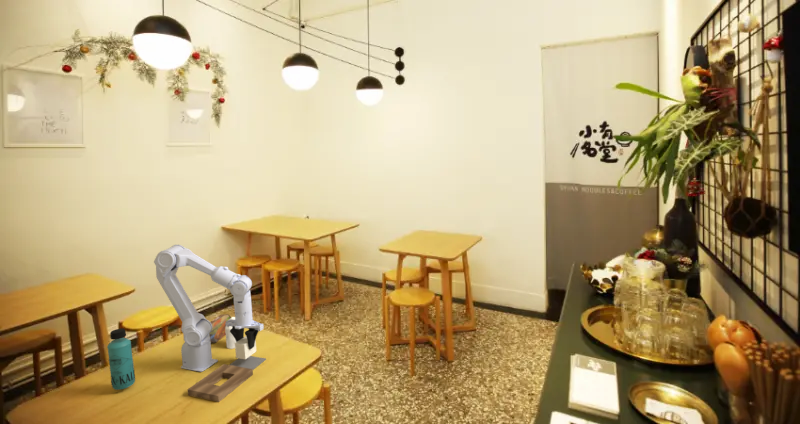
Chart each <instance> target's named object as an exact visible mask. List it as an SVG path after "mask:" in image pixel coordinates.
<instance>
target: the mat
mask: <svg viewBox="0 0 800 424" xmlns="http://www.w3.org/2000/svg"><path fill="white" fill-rule="evenodd" d="M266 360H267V358H266V357H265V358H264V357H259V356H254V355H251V356H249V357H248V358H247V359H240V358H236V359H235V360H233V361H232V362H231V363H230V364H229V365H232V366H238V367H243V368H249V369H253V370H255V369H256V368H257V367H259V366H261V364H263V363H264V362H265V361H266Z"/></svg>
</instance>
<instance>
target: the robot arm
mask: <svg viewBox="0 0 800 424" xmlns="http://www.w3.org/2000/svg"><path fill="white" fill-rule="evenodd" d="M153 264H154V265H155V275H156V277H155V278H156V280H157V281H158V283H159V285H160V286H161V287H162V290H163V291H164V293H165V295H166V297H167V298H168V300H169V302H170V303H171V305H172V307H173V308H174V310H175V312H176V313H177V315H178V317H179V319H180V320H181V322H182V323H181V330H180V331H181V332H182V334H183V341H184V343H183V344H182V347H181V349H180V350H181V352H180V353H181V360H182V365H181V366H180V368H181V369H182V370H183V369H185V370H189V371H195V372H200V373H203V372H204V371H206V370H207V369H209V368H210V367H211V366H213V365H215V364H216V363H217V362H218V361H219V359H217V358H216V359H215V358H213V353H212V342H211V341H210V336H209V333H210V332H211V330H212V324H211V321H210V320H208V319H207V318H206V317H205V316H204V314H202V313H199V312H198V310H197V309H196V307H195V306H194V304H193V302H192V301H191V299H190V297H189V295H188V293H187V291H186V290H185V288H184V286H183V285H182V283H181V282H180V279H179V278H178V277H177V273H178V270H179V268H181V267H187V266H188V267H191V268H193V269H195V270H197V271H200V272H202V273H204V274H206V275H208V276H210V279H211V280H212V281H213V282H214V283H216V284H218V285H220V286H222V287H224V288H226V289H228V290H229V292H230V294H231V295H232V296H233V309H234V317H235V320H231V319H229V320H228V321H226V326H227V327H229V326H232V329H231V330H230V333H231V334H232V335H233V336H234V338H235V340H236V342H237V341H239V340H241V339H242V338H244V337H245V336H246V337H247V340H248V347H249V349H252V348H253V347H254V345H255V340H256V339H257V336H258V334H259V332H261V331H263V330H264V323H260V322H258V321H255V320H254V319H253V305H252V304H253V303H252V295H251V290H250V289H251V288H252V286H253V282H252V279H251V278H250V277H249V276H248V275H245V274H242V275H241V274H239V273H236V272H234V271H232V270H230V269H229V267H228V266H223V265H220V266H215V265H214V264H212V263H211V262H209V261H207V260H206V259H204V258H202V257H200V256H199V255H197V254H195V253H194V252H193V251H192V250H191V249H190V248H187V247H184V246H183V245H181V244H173V245H172V246H171V247H168V248H166V249H164V250H161V251H159V252H158V253H157V255H156V256H155V258H154V261H153ZM245 329H248V330H246V331H245ZM244 334H245V335H244ZM256 341H257V340H256Z"/></svg>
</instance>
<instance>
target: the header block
mask: <svg viewBox="0 0 800 424" xmlns="http://www.w3.org/2000/svg"><path fill="white" fill-rule="evenodd" d="M253 371H254V369H249V368H243V367H238V366H232V365H230V364H226V363H223V364H221V366H219V367H217V368H216V369H214V370H213V371H212V372H210V373H209V374H207V375H206V376H205V377H203V378H202V379H200V380H198V381H197V382H196V383H194V384H193V385H191V386H190V387H189V388H188V389H186V390H187V396H189V397H194V398H198V399H204V400H208V401H214V402H217V403H219V402H221V401H222V400H223V399H225V398H226V397H227V396H228V395H230V393H232V392H233V391H235V390H236V389H237V388H238V387H239V386H241V385H242V384H243V383H245V382H246V381H247V380H248V379H249V378H251V377H252V376H253V375H254V372H253ZM223 379H227V380H225V382H223V383H222V384H220V385H217V383H218V382H219V381H221V380H223Z"/></svg>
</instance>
